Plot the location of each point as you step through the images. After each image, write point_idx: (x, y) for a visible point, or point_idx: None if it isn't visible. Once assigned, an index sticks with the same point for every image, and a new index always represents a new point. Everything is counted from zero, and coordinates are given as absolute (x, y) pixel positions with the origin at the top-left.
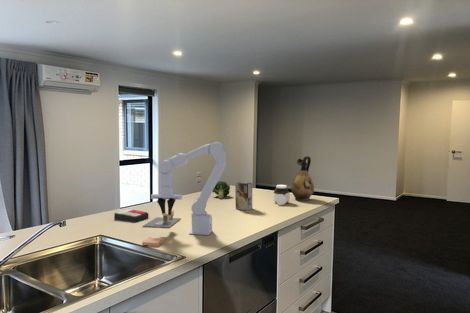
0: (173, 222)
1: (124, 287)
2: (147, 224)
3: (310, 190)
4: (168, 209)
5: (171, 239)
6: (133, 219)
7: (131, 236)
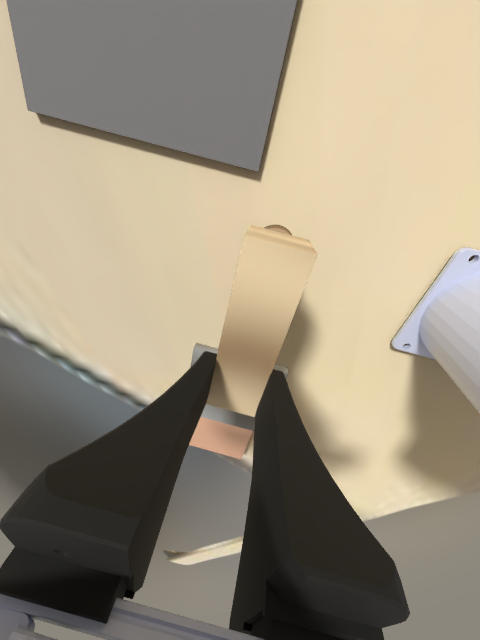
0: None
1: (223, 554)
2: (36, 43)
3: None
4: (256, 458)
5: None
6: None
7: (93, 331)
